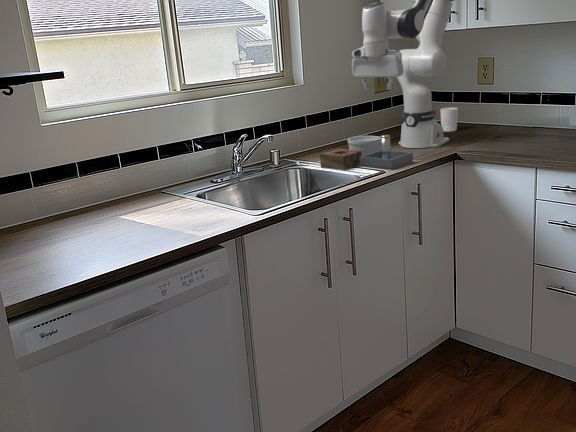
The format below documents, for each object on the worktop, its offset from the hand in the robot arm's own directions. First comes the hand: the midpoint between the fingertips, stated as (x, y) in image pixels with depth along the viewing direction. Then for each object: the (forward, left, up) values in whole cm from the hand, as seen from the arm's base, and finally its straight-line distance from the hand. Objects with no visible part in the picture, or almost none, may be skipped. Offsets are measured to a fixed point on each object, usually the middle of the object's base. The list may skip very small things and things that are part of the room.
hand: (378, 89), depth 230 cm
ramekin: (-8, -13, -27) cm, 31 cm away
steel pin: (+2, +4, -26) cm, 27 cm away
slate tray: (+2, +4, -27) cm, 27 cm away
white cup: (-69, -10, -27) cm, 75 cm away
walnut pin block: (+11, -10, -27) cm, 31 cm away
